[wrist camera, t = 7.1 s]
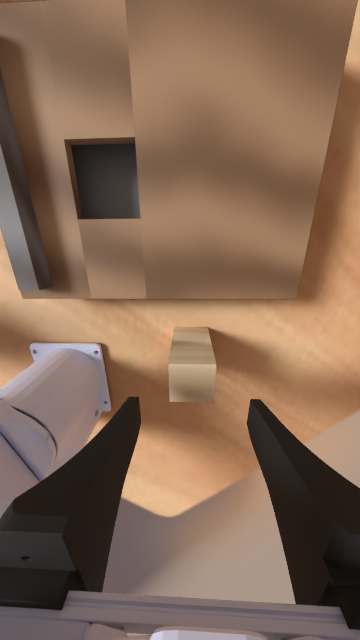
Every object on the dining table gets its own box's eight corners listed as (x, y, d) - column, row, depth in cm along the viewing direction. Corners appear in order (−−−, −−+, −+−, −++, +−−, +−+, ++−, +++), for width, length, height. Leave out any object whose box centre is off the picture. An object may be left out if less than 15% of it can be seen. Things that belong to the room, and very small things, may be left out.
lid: (291, 296, 16) (307, 304, 14) (30, 296, 17) (7, 303, 15) (349, -1, 10) (391, -65, 8) (-48, 23, 11) (-104, -30, 9)
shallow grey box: (275, 288, 19) (290, 295, 16) (54, 288, 20) (31, 295, 17) (313, 55, 13) (346, 4, 11) (2, 70, 14) (-44, 26, 11)
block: (206, 356, 22) (213, 402, 15) (175, 355, 22) (169, 401, 16) (207, 327, 21) (216, 364, 14) (174, 326, 21) (168, 363, 14)
